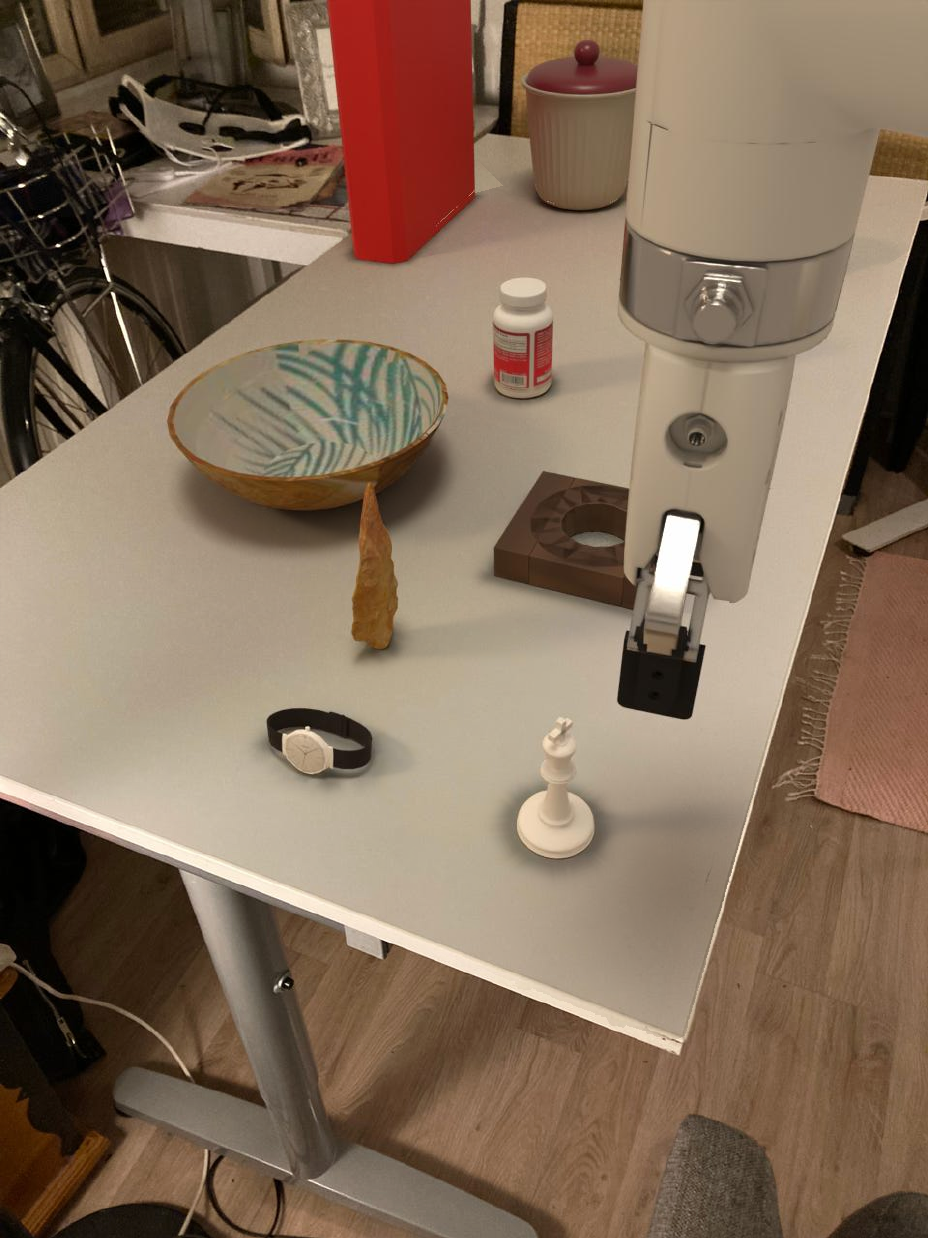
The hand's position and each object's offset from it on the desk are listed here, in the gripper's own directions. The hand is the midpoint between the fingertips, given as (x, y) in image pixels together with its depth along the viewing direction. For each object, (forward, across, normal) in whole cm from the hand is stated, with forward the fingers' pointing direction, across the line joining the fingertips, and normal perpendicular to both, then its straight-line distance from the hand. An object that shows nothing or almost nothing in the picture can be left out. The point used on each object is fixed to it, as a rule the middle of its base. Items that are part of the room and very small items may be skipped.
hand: (671, 634), depth 45 cm
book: (+21, +100, +49) cm, 113 cm away
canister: (+21, +116, +29) cm, 121 cm away
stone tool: (+21, +15, +22) cm, 34 cm away
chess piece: (+21, +3, +5) cm, 22 cm away
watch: (+21, +4, +22) cm, 31 cm away
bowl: (+21, +36, +36) cm, 55 cm away
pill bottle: (+21, +58, +22) cm, 65 cm away
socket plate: (+20, +31, +9) cm, 38 cm away
